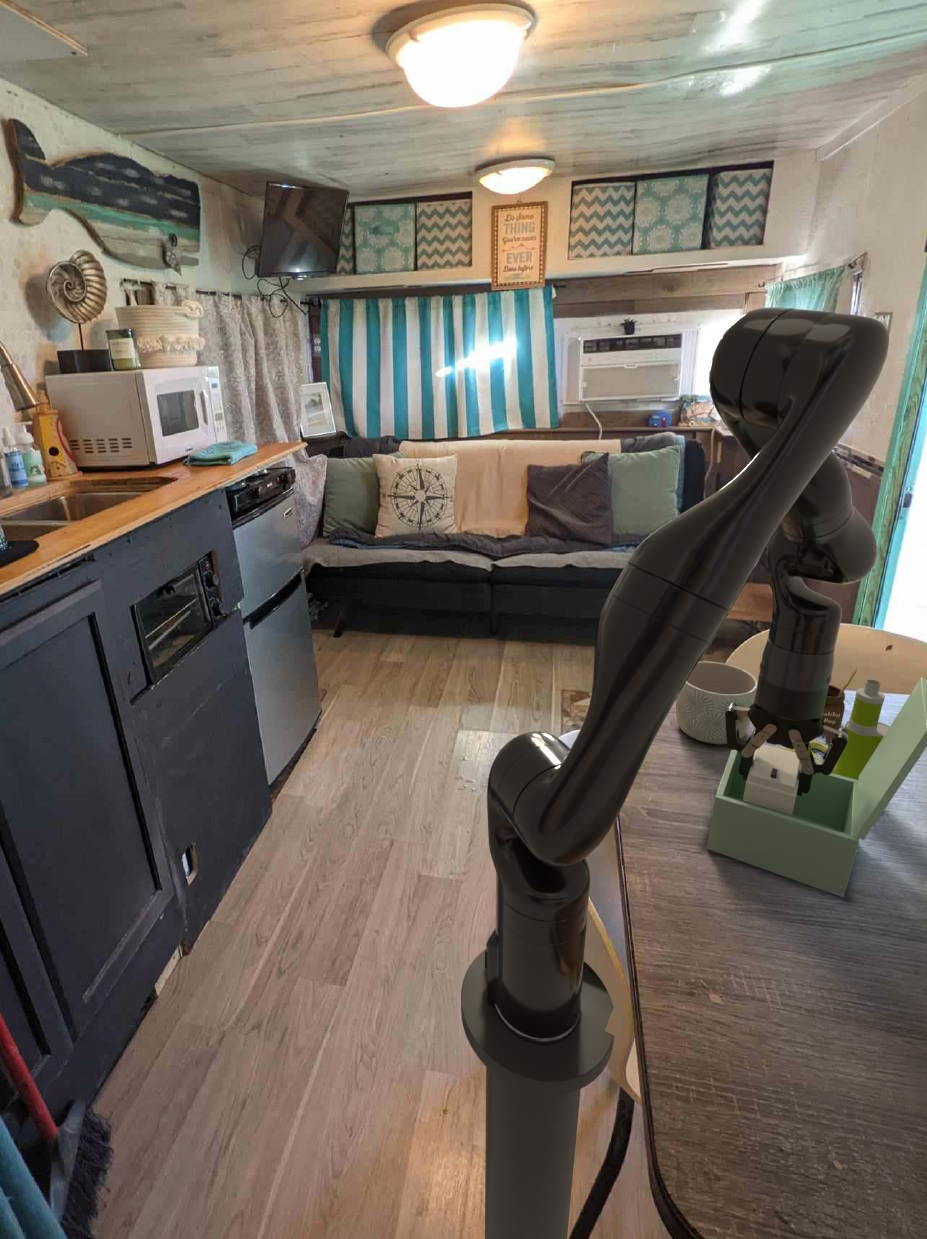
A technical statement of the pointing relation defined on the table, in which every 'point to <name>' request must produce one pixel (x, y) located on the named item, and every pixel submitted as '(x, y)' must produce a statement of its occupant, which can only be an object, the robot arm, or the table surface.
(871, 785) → the lid
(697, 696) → the planter
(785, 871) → the box
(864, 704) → the vape
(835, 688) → the utensil holder
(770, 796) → the white power adapter
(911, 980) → the table surface
